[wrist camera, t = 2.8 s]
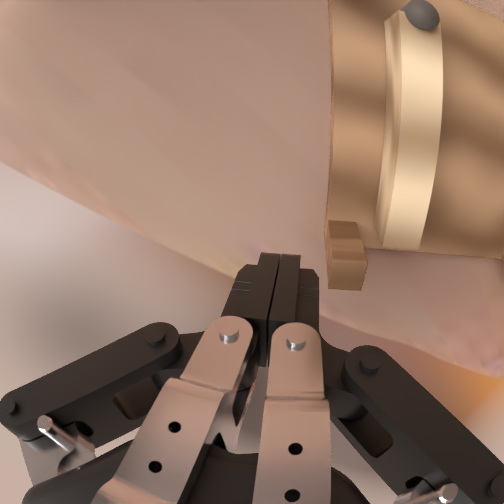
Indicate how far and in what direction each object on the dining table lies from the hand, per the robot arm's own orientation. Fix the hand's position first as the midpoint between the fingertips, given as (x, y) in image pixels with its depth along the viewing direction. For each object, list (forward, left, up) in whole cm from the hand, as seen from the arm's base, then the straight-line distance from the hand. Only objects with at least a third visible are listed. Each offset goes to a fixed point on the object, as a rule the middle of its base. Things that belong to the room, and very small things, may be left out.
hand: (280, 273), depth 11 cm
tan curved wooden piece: (-6, +7, -9) cm, 13 cm away
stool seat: (-6, +12, -11) cm, 17 cm away
